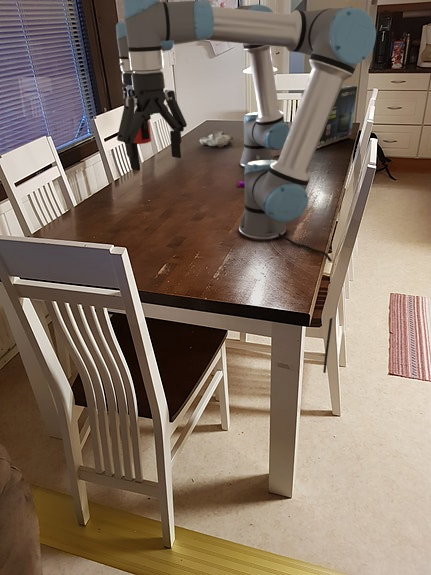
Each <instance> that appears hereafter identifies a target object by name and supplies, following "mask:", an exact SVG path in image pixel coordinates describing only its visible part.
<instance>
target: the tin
mask: <svg viewBox="0 0 431 575" xmlns="http://www.w3.org/2000/svg"><path fill="white" fill-rule="evenodd" d="M148 130H149V139H145V140H142V134H141V127H140V129H139V132H138V134H137V136H136V138H135V140H134V142H135V143H137V145H143V144H149V143H151V142H152V133H151V123H150V120H148Z"/></svg>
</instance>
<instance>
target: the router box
mask: <svg viewBox="0 0 431 575" xmlns="http://www.w3.org/2000/svg"><path fill="white" fill-rule="evenodd" d="M303 93H304V91H303V92H301V93H300V99H301V98H302V95H303ZM357 93H358V86H356V85H350V84H342V87H341V89H340V92H339V94H338V96H337V99H336V101H335V104H334V106H333V109H332V111H331V114H330V116H329V119H328V121H327V124H326V126H325V129H324V131H323V133H322V136H321V138H320V141H319V143H318V146H320V145H323V144H325V143H328V142H331V141H333V140H336V139H338V138H341V137H344V136H347V135H351V136H352V133H353V132H352V131H353V125H354V115H355V109H356V99H357Z"/></svg>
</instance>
